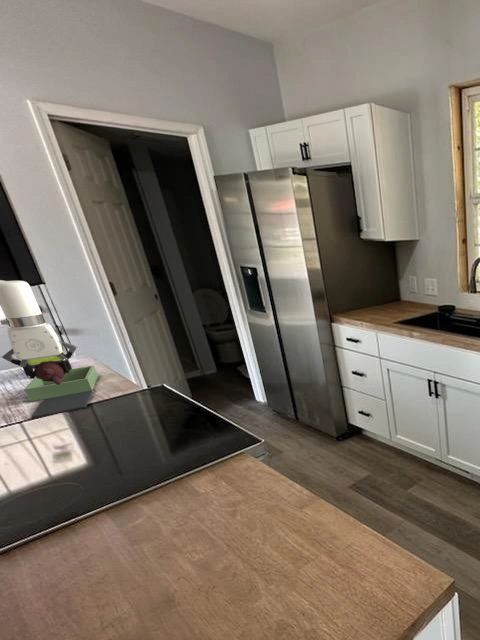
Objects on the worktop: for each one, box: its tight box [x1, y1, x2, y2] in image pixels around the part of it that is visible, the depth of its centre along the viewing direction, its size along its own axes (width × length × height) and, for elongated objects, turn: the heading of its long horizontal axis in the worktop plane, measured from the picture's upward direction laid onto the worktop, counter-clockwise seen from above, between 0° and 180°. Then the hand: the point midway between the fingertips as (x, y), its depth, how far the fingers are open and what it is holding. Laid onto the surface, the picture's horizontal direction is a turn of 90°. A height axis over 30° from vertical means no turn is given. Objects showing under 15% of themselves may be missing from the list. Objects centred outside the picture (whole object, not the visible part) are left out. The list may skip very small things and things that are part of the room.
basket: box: [23, 365, 99, 402], centre depth 152 cm, size 16×20×4 cm
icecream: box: [34, 361, 66, 385], centre depth 134 cm, size 7×7×15 cm
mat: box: [31, 390, 93, 419], centre depth 138 cm, size 12×18×1 cm, turn 39°
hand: (51, 374), depth 134 cm, fingers closed on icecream, 7 cm apart
